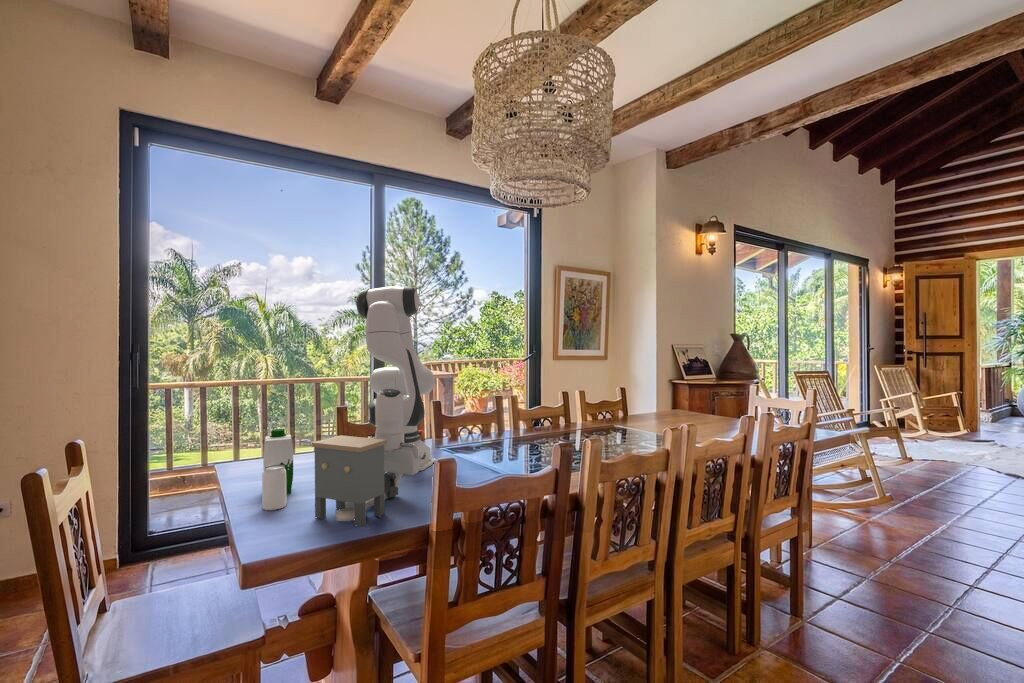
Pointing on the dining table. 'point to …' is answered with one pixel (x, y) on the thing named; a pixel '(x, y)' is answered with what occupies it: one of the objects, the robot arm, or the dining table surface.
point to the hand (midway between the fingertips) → (390, 485)
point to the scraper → (388, 490)
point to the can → (274, 487)
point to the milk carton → (279, 453)
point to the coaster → (345, 514)
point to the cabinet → (349, 474)
